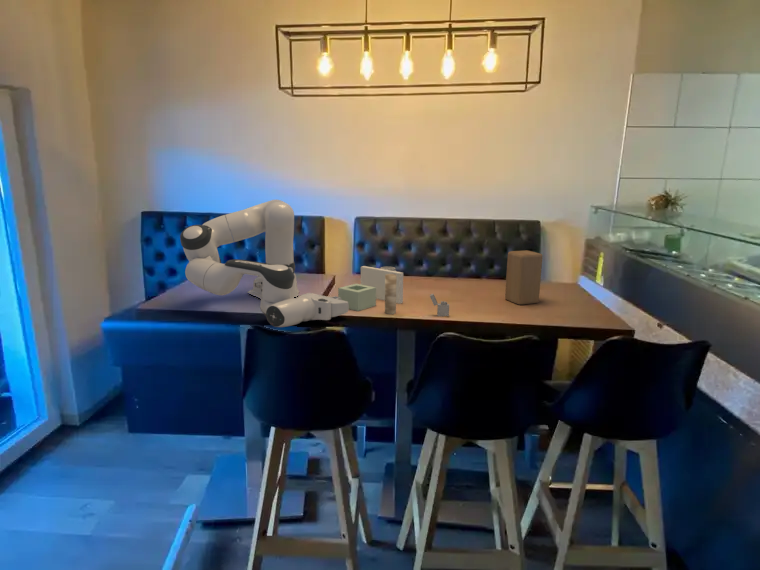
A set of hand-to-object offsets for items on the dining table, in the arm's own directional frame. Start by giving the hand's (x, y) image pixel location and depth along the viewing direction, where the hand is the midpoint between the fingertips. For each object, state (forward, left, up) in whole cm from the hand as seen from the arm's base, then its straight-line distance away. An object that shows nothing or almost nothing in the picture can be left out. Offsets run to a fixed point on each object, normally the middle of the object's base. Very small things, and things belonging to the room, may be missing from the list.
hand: (338, 299), depth 185 cm
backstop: (+1, +13, -5) cm, 14 cm away
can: (-3, +32, -6) cm, 33 cm away
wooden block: (+43, +61, -6) cm, 75 cm away
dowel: (+16, +10, -5) cm, 20 cm away
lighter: (+29, +22, -6) cm, 37 cm away
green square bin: (+1, +9, -4) cm, 10 cm away
